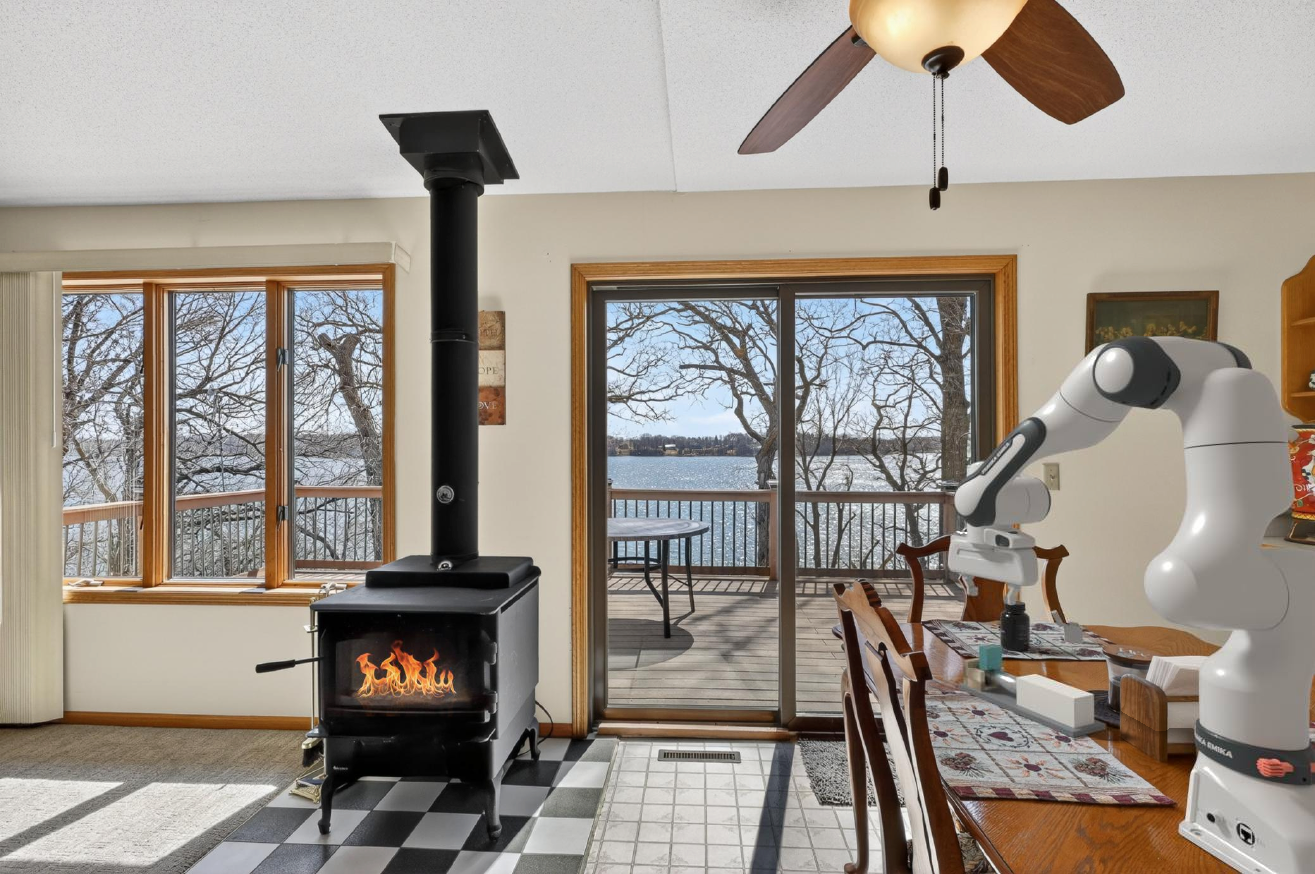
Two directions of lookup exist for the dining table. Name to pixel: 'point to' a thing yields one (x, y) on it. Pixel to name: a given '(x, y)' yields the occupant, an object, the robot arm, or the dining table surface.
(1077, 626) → the lighter
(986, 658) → the slip tube
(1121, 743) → the dining table surface
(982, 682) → the socket block
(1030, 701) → the tube stand
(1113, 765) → the dining table surface
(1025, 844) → the dining table surface
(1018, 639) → the supplement bottle
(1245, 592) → the robot arm
